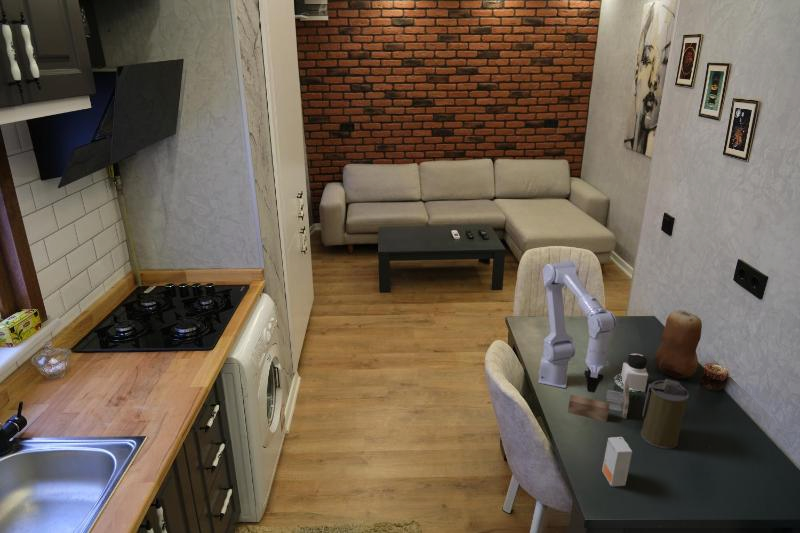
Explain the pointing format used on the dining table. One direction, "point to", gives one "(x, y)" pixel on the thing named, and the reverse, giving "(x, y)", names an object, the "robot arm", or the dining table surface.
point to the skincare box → (617, 461)
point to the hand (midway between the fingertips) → (591, 385)
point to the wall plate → (626, 398)
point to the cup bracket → (615, 396)
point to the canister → (664, 413)
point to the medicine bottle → (635, 372)
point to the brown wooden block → (588, 408)
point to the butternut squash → (679, 345)
